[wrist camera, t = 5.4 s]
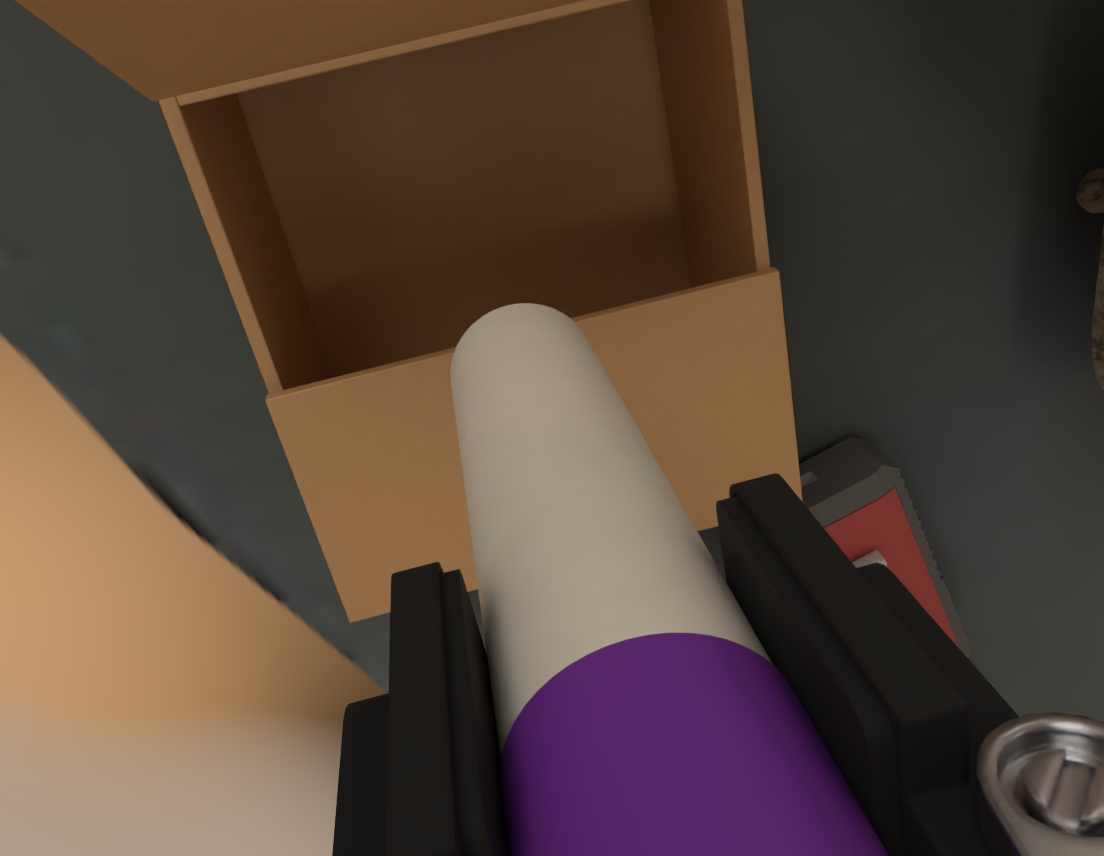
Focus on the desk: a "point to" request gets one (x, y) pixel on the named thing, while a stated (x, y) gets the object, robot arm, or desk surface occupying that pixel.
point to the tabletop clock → (1098, 196)
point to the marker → (620, 630)
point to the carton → (496, 255)
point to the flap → (251, 33)
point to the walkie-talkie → (877, 523)
